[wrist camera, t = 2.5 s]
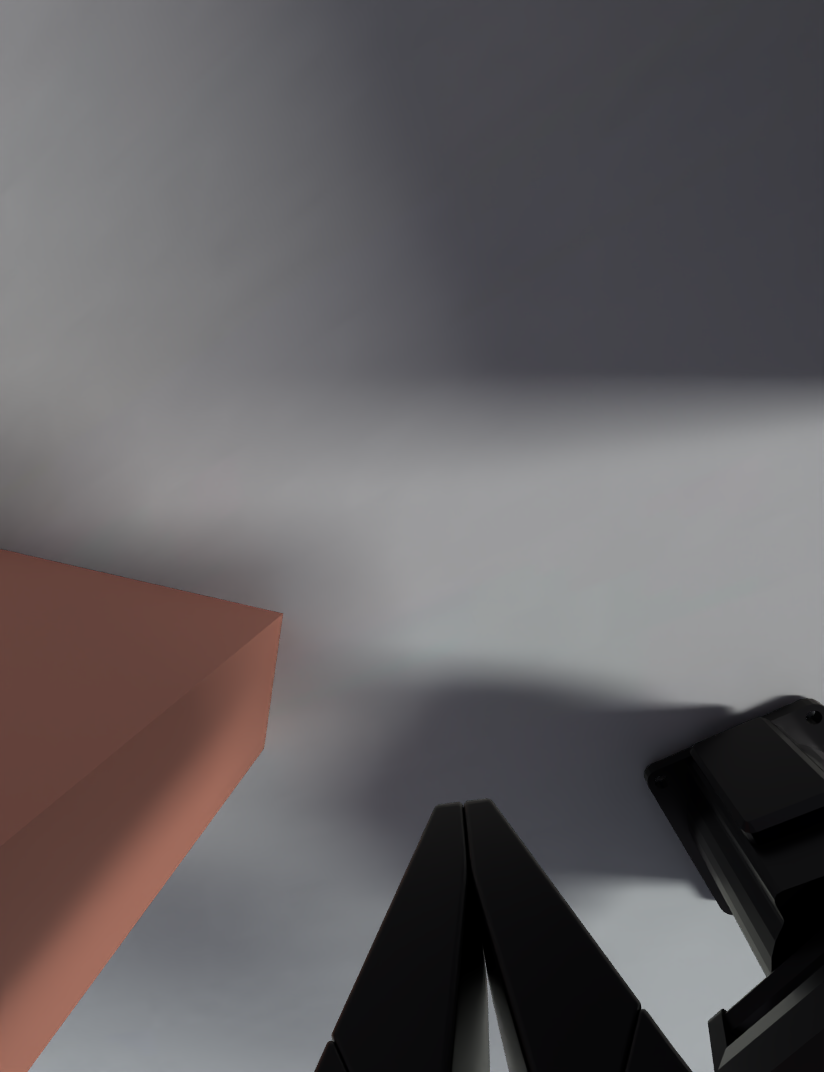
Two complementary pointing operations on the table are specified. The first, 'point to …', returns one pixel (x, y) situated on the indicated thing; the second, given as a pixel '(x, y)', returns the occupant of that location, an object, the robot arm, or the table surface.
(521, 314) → the table surface
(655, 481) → the table surface
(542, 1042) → the robot arm
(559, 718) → the table surface
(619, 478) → the table surface
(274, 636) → the book box
